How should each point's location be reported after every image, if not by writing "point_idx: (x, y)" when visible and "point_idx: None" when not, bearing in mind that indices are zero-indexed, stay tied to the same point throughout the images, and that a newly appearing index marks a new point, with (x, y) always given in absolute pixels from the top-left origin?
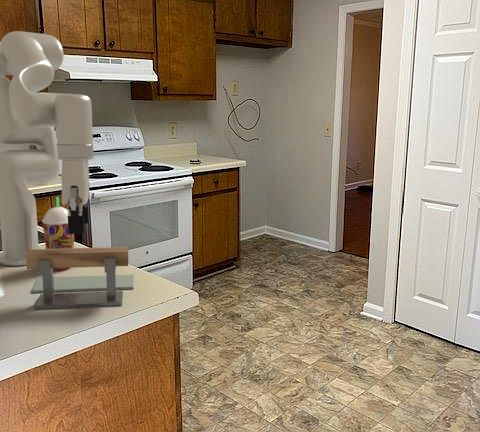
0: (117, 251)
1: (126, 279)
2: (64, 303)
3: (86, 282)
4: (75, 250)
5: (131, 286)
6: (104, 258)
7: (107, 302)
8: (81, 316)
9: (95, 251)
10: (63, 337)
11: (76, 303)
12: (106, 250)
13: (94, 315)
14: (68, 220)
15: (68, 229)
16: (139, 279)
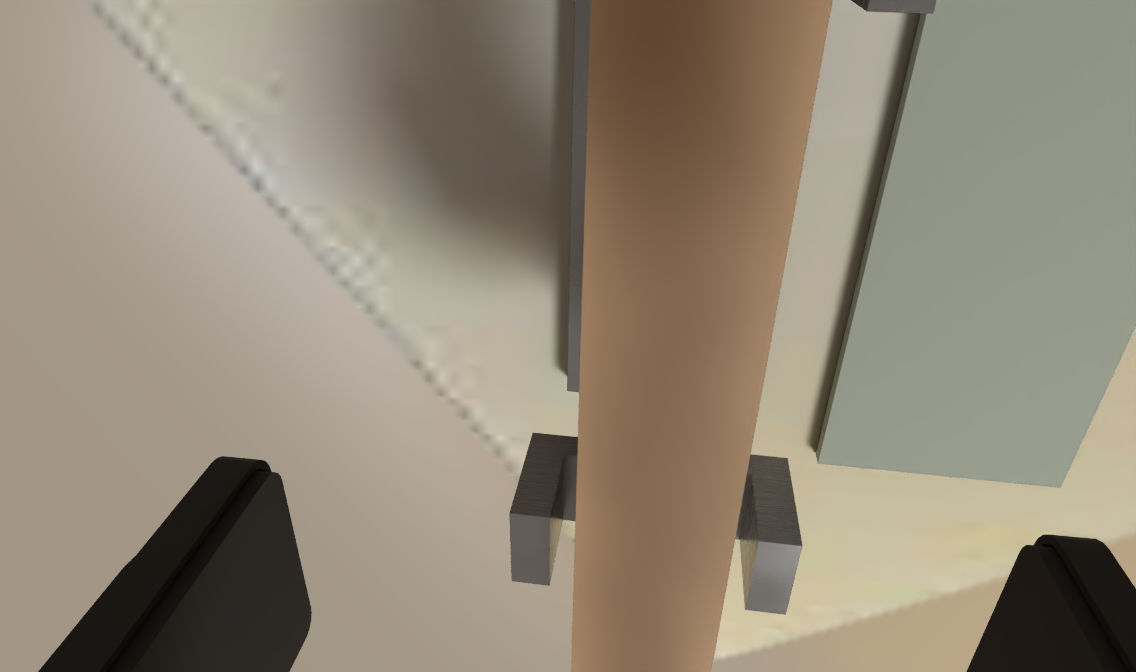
0: (583, 637)
1: (973, 441)
2: None
3: (1028, 184)
4: (676, 312)
5: (826, 455)
6: (528, 515)
7: (575, 318)
8: (435, 164)
9: (603, 491)
10: (161, 78)
11: (585, 133)
12: (626, 572)
13: (446, 237)
14: (62, 658)
15: (180, 502)
16: (981, 499)
